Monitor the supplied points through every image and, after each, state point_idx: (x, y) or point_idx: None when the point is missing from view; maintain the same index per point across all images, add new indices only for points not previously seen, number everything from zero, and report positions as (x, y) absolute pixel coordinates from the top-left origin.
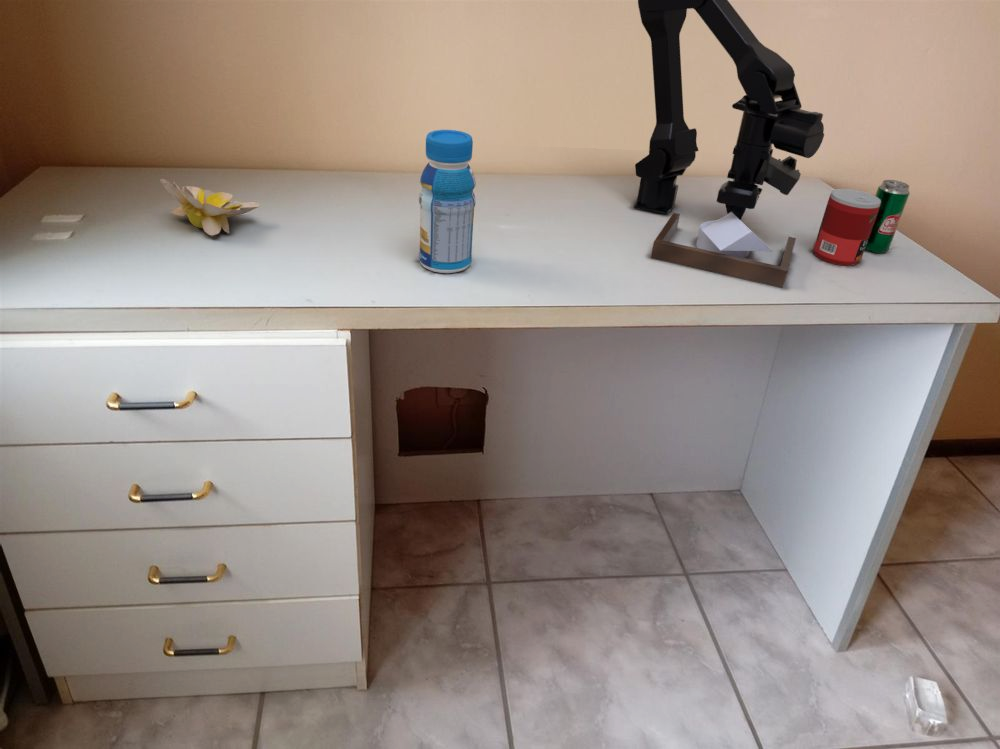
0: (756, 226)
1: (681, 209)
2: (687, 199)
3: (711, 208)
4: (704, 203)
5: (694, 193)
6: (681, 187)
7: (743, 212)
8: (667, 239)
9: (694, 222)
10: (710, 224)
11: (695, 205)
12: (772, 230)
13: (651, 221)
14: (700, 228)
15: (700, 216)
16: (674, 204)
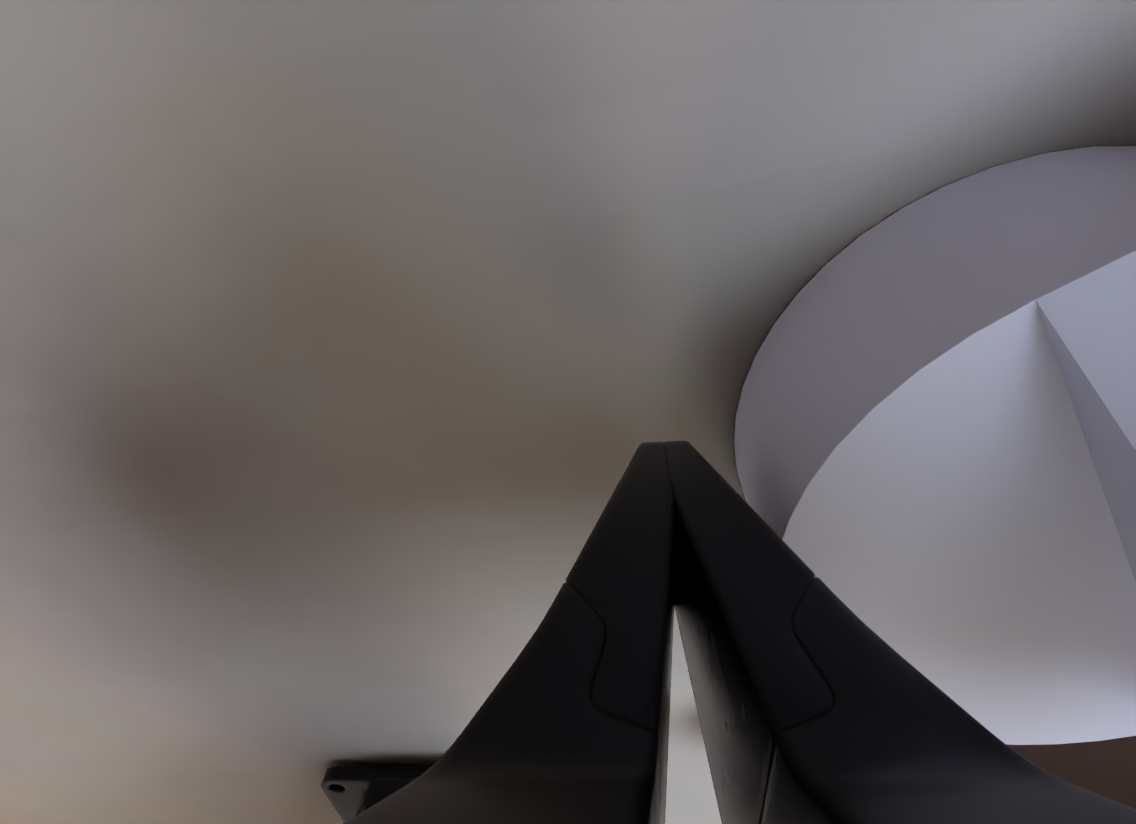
0: (138, 256)
1: (346, 727)
2: (151, 727)
3: (141, 618)
4: (103, 659)
5: (12, 716)
6: (10, 766)
7: (852, 620)
8: (1120, 758)
9: (508, 652)
10: (969, 694)
11: (198, 688)
12: (58, 46)
13: (670, 792)
14: (1116, 732)
15: (362, 643)
16: (383, 788)
